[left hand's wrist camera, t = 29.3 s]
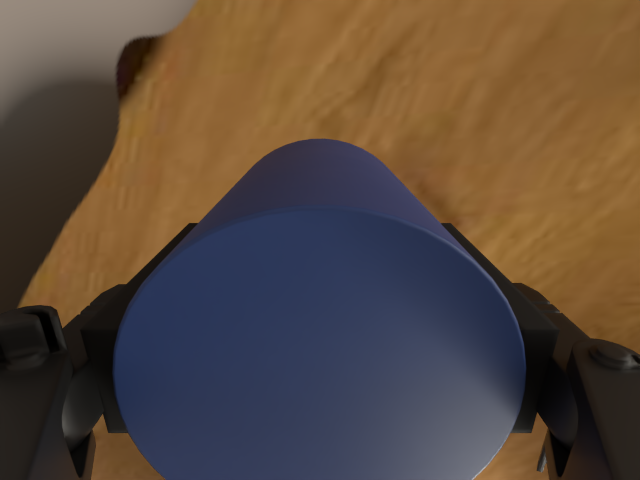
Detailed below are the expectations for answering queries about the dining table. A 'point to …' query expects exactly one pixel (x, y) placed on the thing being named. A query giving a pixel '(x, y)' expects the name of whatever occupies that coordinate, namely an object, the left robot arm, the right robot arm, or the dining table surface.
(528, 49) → the dining table surface
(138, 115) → the dining table surface
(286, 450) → the canister
